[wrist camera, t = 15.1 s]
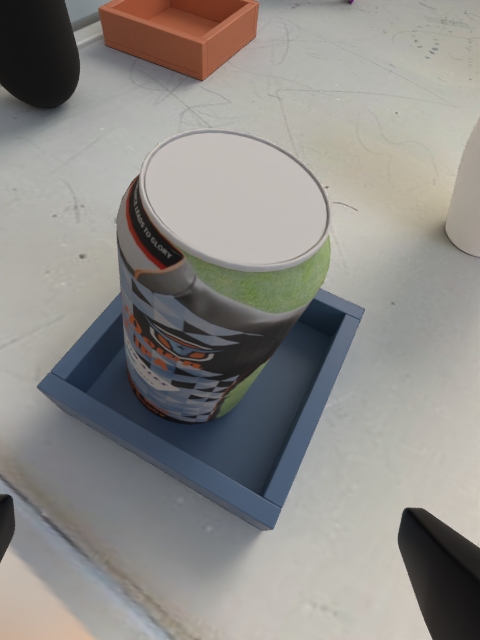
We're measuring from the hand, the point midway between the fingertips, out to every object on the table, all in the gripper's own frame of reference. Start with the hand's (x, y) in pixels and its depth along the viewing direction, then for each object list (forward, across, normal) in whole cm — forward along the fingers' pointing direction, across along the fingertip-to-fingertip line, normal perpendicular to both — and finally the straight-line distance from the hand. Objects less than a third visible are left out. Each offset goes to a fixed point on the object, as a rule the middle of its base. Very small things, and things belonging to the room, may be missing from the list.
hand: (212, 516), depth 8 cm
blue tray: (+11, 0, +1) cm, 11 cm away
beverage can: (+11, +1, +1) cm, 11 cm away
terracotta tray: (+37, +6, -25) cm, 45 cm away
